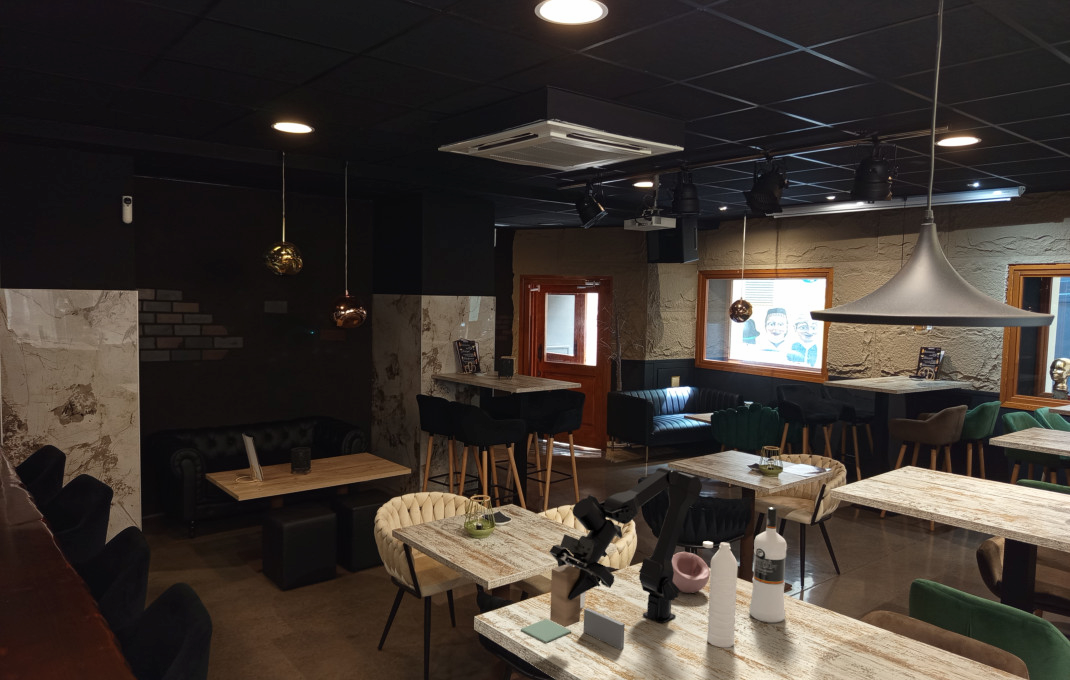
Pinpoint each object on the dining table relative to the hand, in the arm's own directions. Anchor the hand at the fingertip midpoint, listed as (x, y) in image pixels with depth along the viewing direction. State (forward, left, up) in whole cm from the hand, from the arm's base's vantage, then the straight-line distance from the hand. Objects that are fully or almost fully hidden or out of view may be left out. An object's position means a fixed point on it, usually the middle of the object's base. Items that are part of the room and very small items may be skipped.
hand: (561, 595), depth 169 cm
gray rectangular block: (-12, +3, -13) cm, 18 cm away
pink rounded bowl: (-55, -1, -14) cm, 57 cm away
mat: (-5, -9, -13) cm, 17 cm away
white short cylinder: (-22, -16, -14) cm, 30 cm away
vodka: (-57, +23, -14) cm, 63 cm away
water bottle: (-33, +22, -14) cm, 42 cm away
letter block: (-1, 0, -7) cm, 7 cm away
